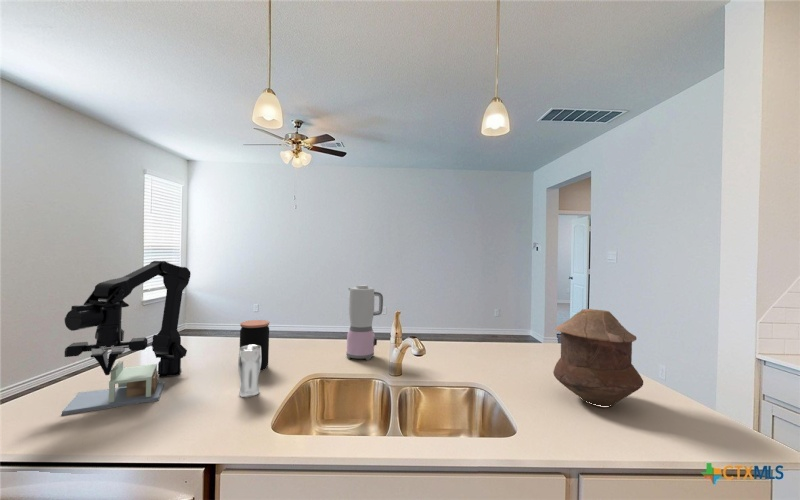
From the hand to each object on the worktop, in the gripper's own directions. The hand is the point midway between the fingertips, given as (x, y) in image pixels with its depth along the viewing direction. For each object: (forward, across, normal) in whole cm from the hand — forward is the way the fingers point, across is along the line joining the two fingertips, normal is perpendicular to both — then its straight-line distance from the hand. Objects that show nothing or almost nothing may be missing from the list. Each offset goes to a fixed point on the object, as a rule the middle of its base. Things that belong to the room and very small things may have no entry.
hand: (107, 374), depth 106 cm
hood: (+6, -7, 0) cm, 9 cm away
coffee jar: (+8, -43, -12) cm, 45 cm away
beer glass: (+8, -39, +13) cm, 42 cm away
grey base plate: (+8, -3, 0) cm, 8 cm away
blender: (+8, -88, -8) cm, 88 cm away
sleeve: (+7, -9, 0) cm, 11 cm away
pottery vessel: (+8, -139, +66) cm, 154 cm away
